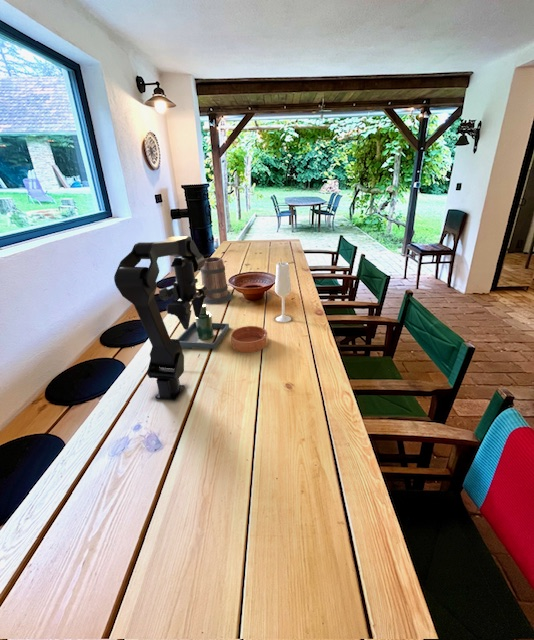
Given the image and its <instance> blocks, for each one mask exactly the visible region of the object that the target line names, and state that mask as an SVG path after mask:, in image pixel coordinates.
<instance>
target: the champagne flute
mask: <svg viewBox="0 0 534 640" xmlns="http://www.w3.org/2000/svg"><path fill="white" fill-rule="evenodd" d="M275 266H276V268H275V283H274V292H275V294H276V295H277V296H278V297H279V298H281V315H279V316H277V317H275V321H276V322H281V323H288V322H291V321H292V317H290V316H289V315H286V308H285V307H286V304H285V303H286V302H285V301H286V300H285V299H286V298H287V297H288V296H289V295H290V294H291V292H292V285H291V276H290V265H289V263H288V262H277V263H276V265H275Z"/></svg>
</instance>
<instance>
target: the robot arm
mask: <svg viewBox="0 0 534 640" xmlns="http://www.w3.org/2000/svg"><path fill="white" fill-rule="evenodd" d="M169 256H170V257H174V258H173V260H172V262H171V263H170V267H171V268H173V269H174V275H175V276H174V277H175V281H174V282H173V285H170V286H167V287H164V288H160V289H159V290H158V295H159V296H158V298H159V299H160V300H162V301H164V302H166V301H168V300H170V299H171V300H172V299H174V300H172V301H171V302H170V303H169V304H167V306H166V313H167V314H168V315H171V316H175V317H176V318H177V320H179V322H180V324H181V326H182V328H183V329H184V331H185V330H188V327H189V326H190V321H191V315H192V310H193V313H194V316H196V318H199V316H200V313H201V310H202V307H203V304H204V305H205V303H204V301H205V299H206V295H207V294H208V290H207V288H206V287H205V286H202V285H197V283H198V282H199V281H198V278H196V275H195V273H197V272H198V271H199V270H201V268H202V267H203V266H204V264H205V259H206V258H205V257H204V255H203V254H202V253H200V251H199V249H198V247H197V245H196V243H195V240H193V238H192V237H191V236H188V235H186V236H185V235H184V236H182V235H181V236H168V237H166V238H165V239H164V240H163V241H150V242H145V241H144V242H143V241H140V242H136V243H134V245H133V246H132V249H131V250H130V252H129V253H128V254H127V255H126V256H125V257H123V259H121V261H119V264H118V266H117V269H116V270H115V273H114V276H113V279H114V281H113V282H114V285H115V287H116V289H117V290H118V292H119V293H120V294H121V296H122V297H123V298H124V299H126V300H127V301H128V302H130V303H131V304H132V305H133V306H134V308H135V310H136V313H137V315H138V317H139V319H140V320H139V321H140V322H141V324H142V326H143V329H144V331H145V333H146V335H147V337H148V341H149V342H150V344H151V349H150V352H149V357H150V360H149V364H148V368H147V372H146V375H147V376H148V378H149V379H155V380H156V386H157V390H158V392H157V393H156V394H155V395H154V398H155V399H159V400H166V401H167V400H168V401H177V399H178V398H179V396H180V395H181V394H182V392H183V391H184V390H185V388H186V386H185V385H183V384H181V382H180V377H181V376H182V375H183V374H184V372H185V355H184V353H183V349H184V348H181V345H180V342H179V340H178V338H171V337H170V335H169V332H168V329H167V327H166V323H165V322H164V319H163V317H162V314H161V311H160V308H159V307H158V304H157V301H156V299H155V295H156V291H157V288H158V284H157V280H158V277H159V274H160V267H159V265H158V259H159V258H163V257H169ZM142 260H149V261H150V263H149V266H137V265H138V264H140V263H141V261H142ZM191 305H192V306H191ZM191 308H192V310H191ZM196 318H195V319H196Z"/></svg>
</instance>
